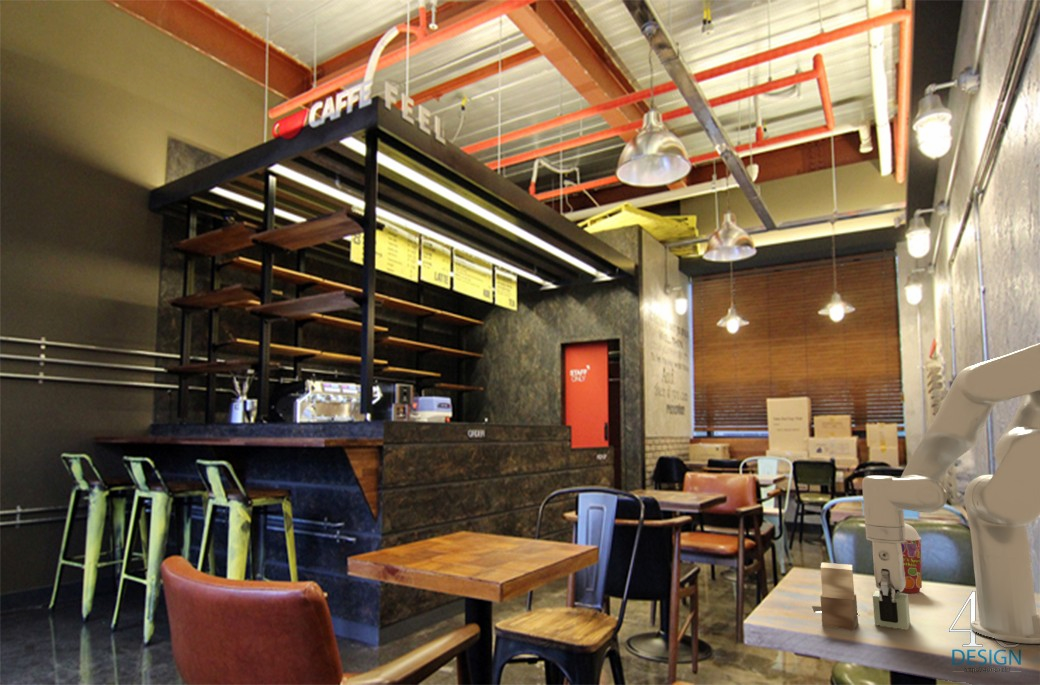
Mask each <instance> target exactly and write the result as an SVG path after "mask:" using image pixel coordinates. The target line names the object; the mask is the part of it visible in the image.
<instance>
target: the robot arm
mask: <svg viewBox="0 0 1040 685" xmlns="http://www.w3.org/2000/svg"><path fill="white" fill-rule="evenodd" d="M1018 397H1021V401H1020V403H1019V406H1018V408H1017V410H1016V412H1015V414H1014V415H1013V417H1012V419H1011V421H1010V423H1009V424H1008V426H1007V428H1006V429H1005V430H1004V432H1003V433H1002V435H1001V437H1000V438H999V440H998V441H997V443H996V445H995V447H994V459H995V460H996V462H997V464H998V466H997V468H996V470H995V472H994V474H982V475H980V476H978V477H975V478H974V479H972V480H970V482H969V483H968V485H966V488H965V492H964V507H965V511H966V515H967V519H968V525H969V526H968V527H969V531H970V538H971V547H972V560H973V570H974V571H973V572H974V579H975V590H976V592H975V593H976V601H977V609H978V619H979V620H974V621H972V622H970V629H971V630H972V631H973V632H974V633H976V632H977V633H976V634H978V633H979V634H978V635H980V634H982V635H981V636H983V635H986V636H990V637H994V638H996V639H995V640H998V641H1005V642H1010V643H1017V644H1028V645H1029V644H1030V645H1040V615H1039V612H1038V611H1037V602H1036V596H1035V586H1034V578H1033V570H1032V568H1033V567H1032V560H1031V549H1030V542H1029V536H1028V532H1027V529H1026V526H1028V525H1029V524H1031V523H1033V522H1034V521H1035V520H1036V519H1037V518H1038V517H1039V516H1040V342H1039V343H1036V344H1033V345H1030V346H1028V347H1027V346H1026V347H1025V348H1022V349H1020V350H1016V351H1014V352H1013V351H1012V352H1011V353H1009V354H1005V355H1003V356H1000V357H995V358H993V359H990V360H987V361H982V362H979V363H976V364H974V365H970V366H967V367H965V368H963V369H962V370H961V371H960V372H958V374H957V375H956V377H955V378H954V379H953V381H952V384H950V387H949V388H948V391H947V393H946V395H945V397H944V399H943V400H942V403H941V405H940V407H939V409H938V411H937V412H936V414H935V417H934V418H933V420H932V421H931V423H930V425H929V428H928V429H927V430H926V432H925V433H924V435H923V437H922V439H921V441H920V442H919V444H918V445H917V447H916V448H915V450H914V451H913V453H912V455H911V456H910V459H909V460H908V462H907V465H906V466H905V467H904V470H903V472H902V474H901V476H900V477H899V478H898V477H896V476H892V475H866V476H864V477H863V478H862V482H861V483H862V485H861V487H862V501H863V512H864V513H863V514H864V515H863V516H864V526H865V527H864V528H865V539H866V540H867V541H870V542H872V557H873V570H874V571H873V572H874V573H873V574H874V581H875V586H876V587H875V588H877V589H878V591H879V610H880V620H881V621H886V622H893V623H897V622H898V612H897V602H895V593H902V591H903V590H904V588H905V585H906V581H905V573H904V563H903V554H902V547H901V543H905V542H906V537H905V524H904V523H905V514H904V511H905V510H906V511H912V512H918V513H924V514H925V513H927V514H931V513H935V512H939V510H941V509H943V507H944V506H945V505H946V504H947V501H948V495H947V494H948V493H947V491H946V488H944V486H943V485H942V482H943V481H944V478H945V477H946V474H947V473H948V472H949V470H950V468H951V467H952V466H953V464H955V462H956V461H957V460H958V459H959V458H961V457H962V456H963V455H965V454H966V453H967V452H969V450H970V449H971V448H972V447H973V446H974V445H975V444H976V442H977V441H978V438H979V437H980V434H981V433H982V431H983V428H984V426H985V425H986V422H987V420H988V419H989V417H990V415H991V413H992V411H993V410H994V407H995V405H996V404H997V403H1001V402H1004V401H1009V400H1011V399H1015V398H1018ZM986 636H985V637H986Z"/></svg>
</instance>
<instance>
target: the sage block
mask: <svg viewBox="0 0 1040 685" xmlns="http://www.w3.org/2000/svg"><path fill="white" fill-rule="evenodd" d="M895 602H897V612H898V622H897V623H893V622H886V621H881V620H880V610H879V590H875V591H874V593H873V595H872V606H873V617H874V618H873V620H874V626H878V625H880V626H879V627H884V626H887V627H886V628H891V627H893V628H892V629H897V628H903V629H902V630H904V629H908V630H909V628H910V625H909V624H911V619H910V606H909V605H910V604H909V593H902V592H900V593H899V592H897V593H895ZM908 627H909V628H908Z"/></svg>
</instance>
